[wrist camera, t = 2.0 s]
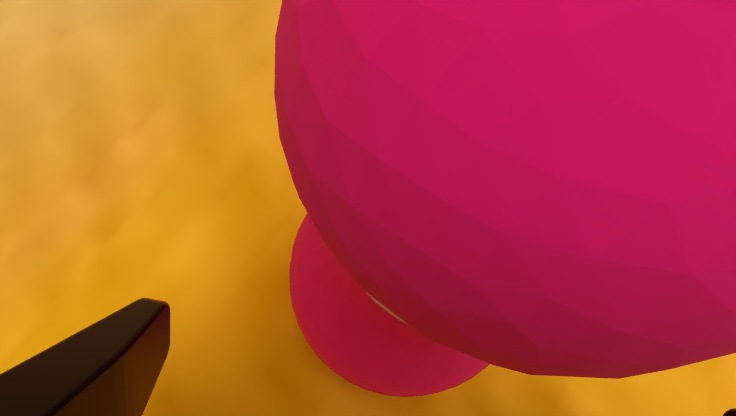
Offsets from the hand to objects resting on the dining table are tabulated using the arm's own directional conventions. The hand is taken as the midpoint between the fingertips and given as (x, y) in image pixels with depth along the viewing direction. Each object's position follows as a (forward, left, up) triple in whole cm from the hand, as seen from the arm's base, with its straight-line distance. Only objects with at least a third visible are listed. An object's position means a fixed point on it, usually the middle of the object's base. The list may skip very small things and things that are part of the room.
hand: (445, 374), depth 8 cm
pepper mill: (+3, +1, -12) cm, 13 cm away
